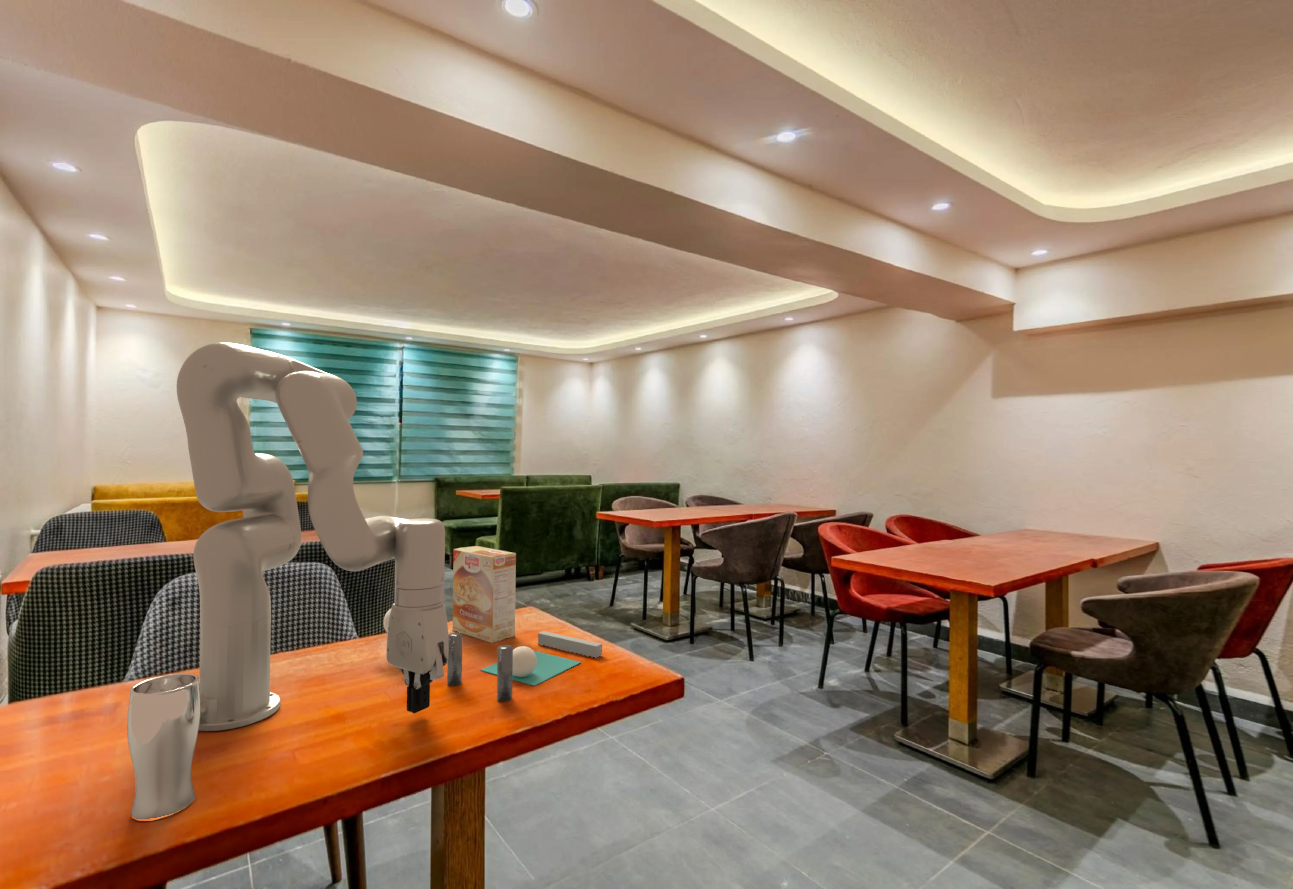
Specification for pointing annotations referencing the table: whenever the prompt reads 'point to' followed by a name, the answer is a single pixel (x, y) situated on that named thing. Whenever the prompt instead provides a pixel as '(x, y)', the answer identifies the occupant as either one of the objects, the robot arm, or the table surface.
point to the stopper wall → (570, 644)
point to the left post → (454, 659)
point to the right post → (504, 673)
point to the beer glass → (163, 742)
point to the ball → (523, 661)
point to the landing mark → (540, 668)
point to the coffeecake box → (484, 593)
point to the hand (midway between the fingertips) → (418, 709)
